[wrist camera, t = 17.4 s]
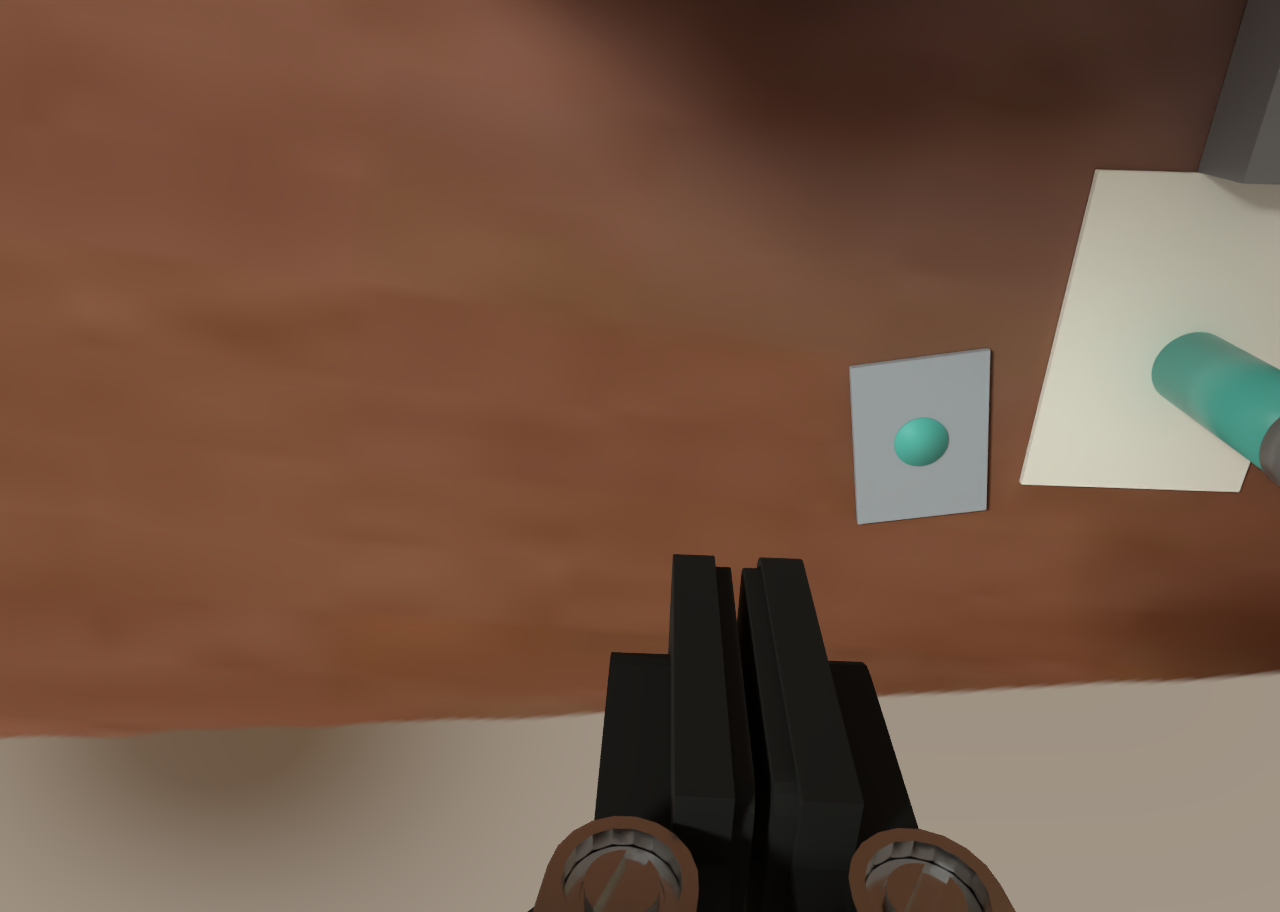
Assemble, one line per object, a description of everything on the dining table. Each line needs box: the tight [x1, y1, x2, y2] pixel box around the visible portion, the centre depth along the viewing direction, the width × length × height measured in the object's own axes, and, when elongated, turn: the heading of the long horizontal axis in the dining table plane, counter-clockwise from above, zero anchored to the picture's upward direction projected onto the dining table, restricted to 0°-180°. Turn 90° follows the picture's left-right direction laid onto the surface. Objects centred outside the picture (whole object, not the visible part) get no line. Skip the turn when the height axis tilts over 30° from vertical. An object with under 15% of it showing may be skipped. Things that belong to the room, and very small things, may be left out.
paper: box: [1019, 169, 1280, 492], centre depth 37 cm, size 14×10×1 cm
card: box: [849, 348, 990, 524], centre depth 39 cm, size 8×6×1 cm
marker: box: [1151, 332, 1280, 487], centre depth 32 cm, size 3×3×10 cm
